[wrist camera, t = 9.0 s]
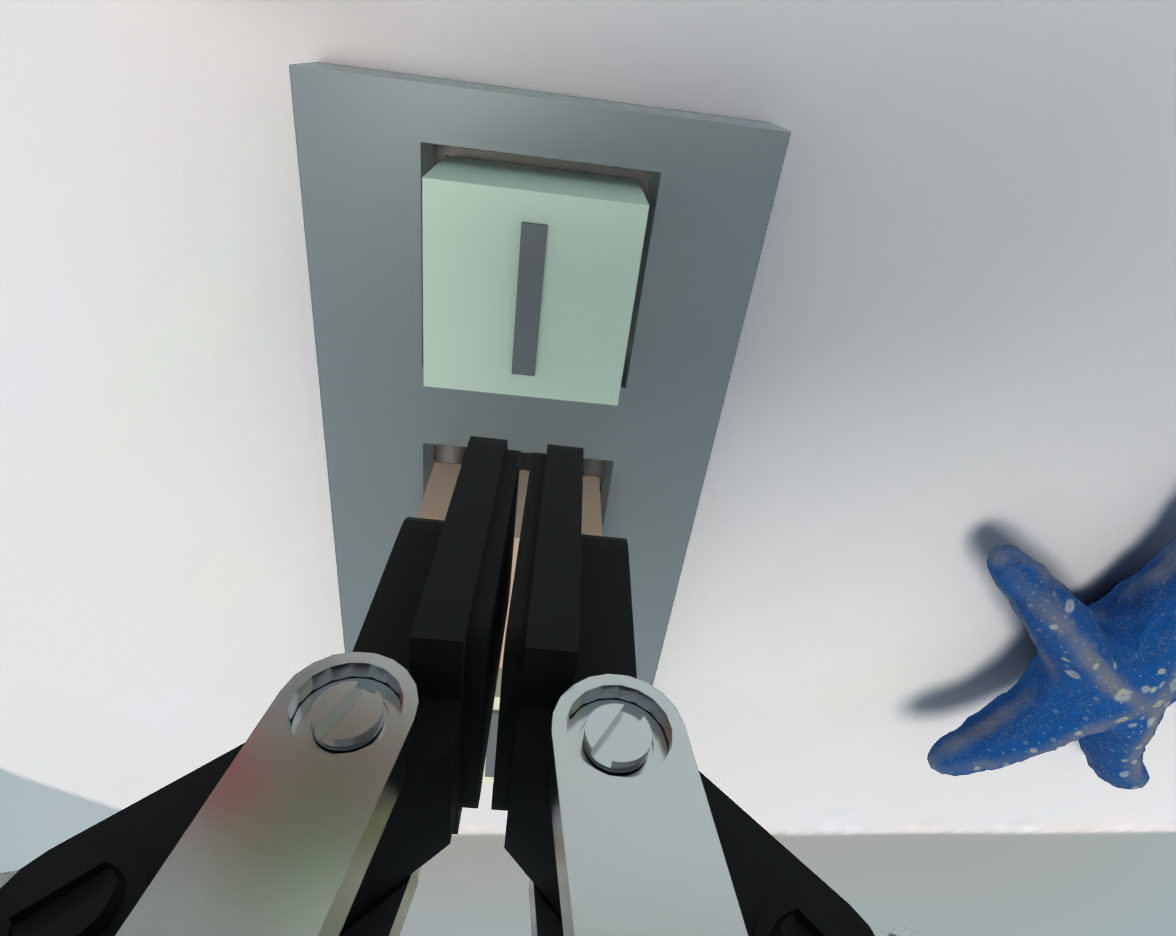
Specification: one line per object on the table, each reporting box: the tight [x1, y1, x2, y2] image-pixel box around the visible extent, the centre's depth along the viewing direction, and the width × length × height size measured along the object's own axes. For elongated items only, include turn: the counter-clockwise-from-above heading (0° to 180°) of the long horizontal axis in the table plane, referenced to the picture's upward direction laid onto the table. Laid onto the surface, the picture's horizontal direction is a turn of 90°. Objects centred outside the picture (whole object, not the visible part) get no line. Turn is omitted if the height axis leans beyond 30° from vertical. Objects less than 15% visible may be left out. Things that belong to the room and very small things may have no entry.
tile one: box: [422, 155, 649, 406], centre depth 21 cm, size 6×6×4 cm
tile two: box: [417, 462, 603, 668], centre depth 25 cm, size 6×6×4 cm
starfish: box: [927, 537, 1176, 789], centre depth 32 cm, size 19×19×5 cm
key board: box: [289, 62, 791, 686], centre depth 28 cm, size 14×30×2 cm, turn 173°
